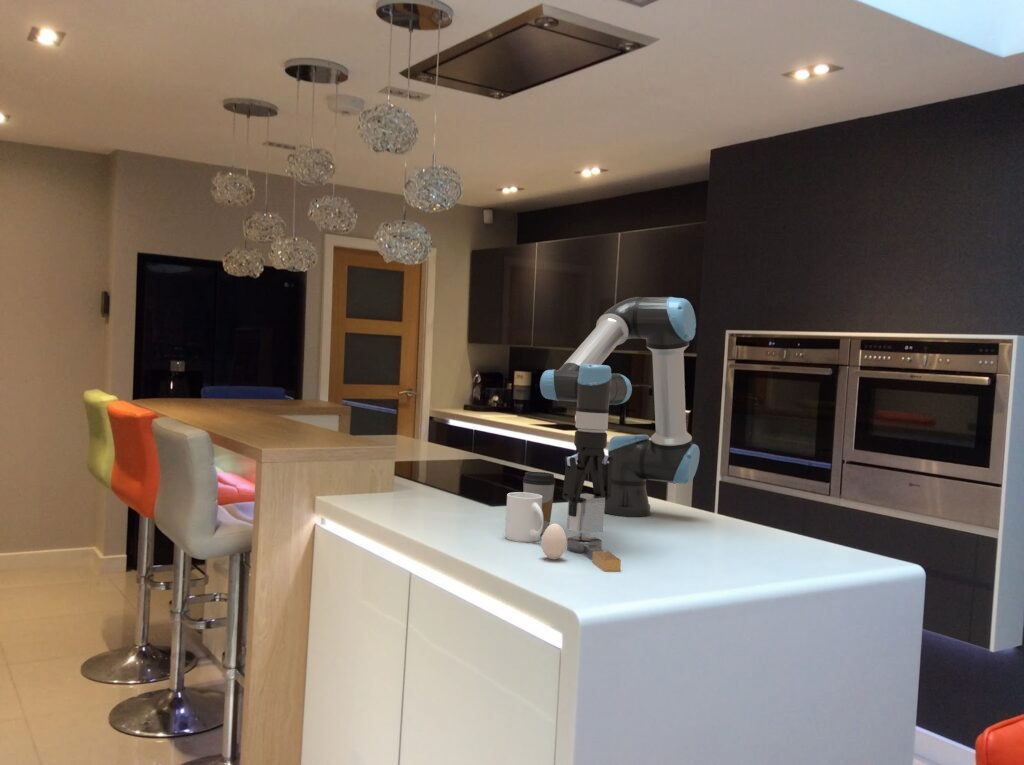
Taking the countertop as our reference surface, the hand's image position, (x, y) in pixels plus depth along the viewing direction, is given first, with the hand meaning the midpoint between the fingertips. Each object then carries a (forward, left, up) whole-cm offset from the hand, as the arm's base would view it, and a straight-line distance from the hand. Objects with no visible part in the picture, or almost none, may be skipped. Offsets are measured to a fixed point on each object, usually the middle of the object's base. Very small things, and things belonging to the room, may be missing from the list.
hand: (585, 529), depth 199 cm
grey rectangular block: (0, 0, 0) cm, 0 cm away
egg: (+13, +4, -5) cm, 14 cm away
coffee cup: (-2, -20, -5) cm, 21 cm away
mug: (+6, -14, -5) cm, 16 cm away
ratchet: (+3, +7, -5) cm, 9 cm away
